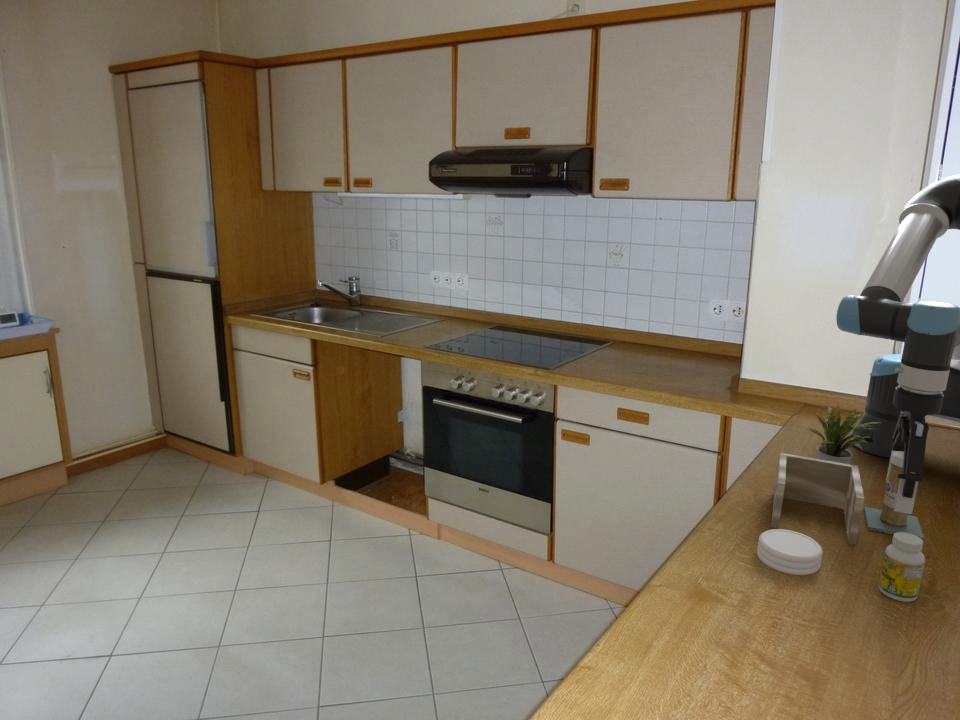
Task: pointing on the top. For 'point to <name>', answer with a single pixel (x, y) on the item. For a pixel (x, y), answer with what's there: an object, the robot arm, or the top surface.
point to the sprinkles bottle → (894, 492)
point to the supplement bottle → (902, 567)
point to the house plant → (838, 437)
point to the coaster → (789, 552)
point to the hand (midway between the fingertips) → (898, 497)
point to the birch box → (820, 488)
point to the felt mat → (881, 526)
